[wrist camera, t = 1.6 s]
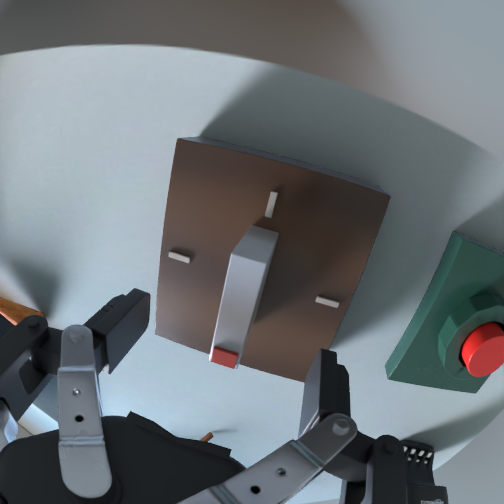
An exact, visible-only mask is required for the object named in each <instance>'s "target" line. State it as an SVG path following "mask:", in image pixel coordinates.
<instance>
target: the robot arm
mask: <svg viewBox="0 0 504 504" xmlns="http://www.w3.org/2000/svg"><path fill="white" fill-rule="evenodd" d="M149 314H150V294H149V293H147V292H144V291H142V290H139V289H136V288H134V289H133V290H132V291H131V292H129V293H128V294H127V295H126V296H125V295H123V294H122V295H119V296H117V297H114V298H112V299H111V300H110V301H109V302H108V303H107V304H106V305H105V306H103V307H102V308H101V310H99V311H98V312H97V313H96V314H95V315H93V316H92V317H91V318H90V319H89V320H88V321H87V322H86V323H85V324H84V325H71V326H69V327H67V328H65V329H64V330H59V329H54V328H50V327H48V322H47V320H46V319H45V318H44V317H43V316H41V315H29V316H27V317H25V318H24V319H22V320H21V321H20V322H19V323H18V324H17V325H16V326H14V327H13V328H12V329H11V330H10V331H9V332H8V333H7V334H5V335H4V336H3V337H2V338H1V339H0V504H285V503H286V502H287V501H289V500H290V499H291V498H292V497H293V496H295V495H296V494H297V493H298V492H300V491H301V490H302V489H303V488H304V487H306V486H307V485H308V484H309V483H310V482H312V481H313V480H314V479H315V478H316V477H318V476H319V475H320V474H321V473H322V472H323V471H326V472H328V473H330V474H332V475H334V476H337V477H339V478H341V479H342V487H341V495H340V503H339V504H406V468H405V451H404V447H403V445H402V443H401V442H400V441H399V440H398V439H397V438H395V437H393V436H390V435H382V436H380V437H378V438H377V439H373V438H371V437H369V436H367V435H364V434H362V433H361V432H359V431H358V430H357V425H356V423H355V422H354V420H353V419H352V418H351V414H350V392H349V390H350V388H349V374H348V372H347V370H346V368H345V366H344V365H340V364H337V353H336V352H334V351H330V350H326V349H322V348H320V349H319V351H318V353H317V355H316V357H315V359H314V361H313V363H312V365H311V367H310V369H309V372H308V374H307V377H306V380H305V386H304V395H303V404H302V412H301V420H300V428H299V435H298V439H297V440H296V441H295V440H294V439H293V440H290V441H289V442H287V443H286V444H284V445H283V446H281V447H280V448H278V449H277V450H275V451H274V452H272V453H271V454H269V455H268V456H266V457H265V458H263V459H262V460H260V461H259V462H257V463H255V464H254V465H252V466H251V467H249V468H247V469H246V468H245V467H244V466H243V465H242V464H241V463H240V462H238V461H237V460H235V459H234V458H232V457H230V453H231V449H228V448H225V447H222V446H218V445H215V444H212V443H209V442H206V441H199V440H192V439H185V438H179V437H176V436H174V435H173V434H171V433H170V432H168V431H167V430H165V429H164V428H162V427H161V426H159V425H158V424H157V423H155V422H154V421H151V420H149V419H147V418H144V417H142V416H140V415H138V414H136V413H133V412H131V411H130V413H129V414H128V416H127V417H123V416H104V412H103V406H102V400H101V392H100V385H99V377H98V375H99V373H100V372H101V371H104V372H106V373H108V374H111V373H112V371H113V370H114V369H115V368H116V366H117V365H118V364H119V363H120V361H121V360H122V359H123V358H124V356H125V355H126V354H127V353H128V352H129V350H130V349H131V348H132V347H133V345H134V344H135V343H136V342H137V341H138V339H139V338H140V337H141V336H142V334H143V333H144V332H145V331H146V329H147V326H148V323H149ZM28 358H29V360H28V361H27V362H26V363H25V361H26V360H27V359H28ZM24 363H25V364H24ZM23 364H24V365H23ZM22 365H23V366H22ZM21 366H22V367H21ZM20 367H21V368H20ZM54 375H57V402H58V424H59V429H57V430H53V431H50V432H46V433H42V434H38V435H33V436H29V437H25V438H20V439H17V440H16V435H17V431H18V427H17V422H18V420H19V419H20V418H21V416H22V415H23V414H24V413H25V411H26V410H27V409H28V408H29V406H30V405H31V404H32V402H33V401H34V400H35V399H36V397H37V396H38V395H39V394H40V393H41V391H42V390H43V389H44V388H45V386H46V385H47V384H48V383H49V382H50V380H51V379H52V378H53V377H54Z"/></svg>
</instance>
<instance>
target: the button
mask: <svg viewBox="0 0 504 504" xmlns="http://www.w3.org/2000/svg"><path fill="white" fill-rule="evenodd" d="M461 356H462V358H463V360H464V362H465V364H466V367H467V369H468V371H469V373H470V374H471V375H473V376H475V377H482V376H486V375H489V374H491V373H492V372H494V371H495V370H497V369H498V368H499V367H500V366H501V365H502V364H503V363H504V332H503V330H502V329H501V327H500V326H499V325H498V324H497V323H494V322H487V323H484V324H481V325H479V326H478V327H477V328H476V329H474V330H473V331H472V332H471V333H469V334H468V335H467V337H466V339H465V340H464V342H463V344H462V347H461Z"/></svg>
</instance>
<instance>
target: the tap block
mask: <svg viewBox="0 0 504 504" xmlns="http://www.w3.org/2000/svg"><path fill="white" fill-rule="evenodd" d="M390 197H391V196H390V195H389V194H388V193H387V192H386V191H385V190H383V189H382V188H381V187H380V186H378V185H375V184H372V183H369V182H366V181H363V180H360V179H357V178H354V177H351V176H348V175H345V174H342V173H338V172H335V171H332V170H329V169H325V168H322V167H319V166H315V165H312V164H308V163H305V162H301V161H298V160H294V159H290V158H287V157H283V156H279V155H275V154H271V153H267V152H263V151H259V150H255V149H251V148H247V147H242V146H238V145H234V144H229V143H225V142H220V141H215V140H210V139H205V138H200V137H188V138H178V139H177V142H176V148H175V154H174V159H173V165H172V172H171V178H170V184H169V191H168V198H167V205H166V213H165V220H164V228H163V237H162V246H161V255H160V266H159V277H158V289H157V302H156V318H155V334H156V335H158V336H161V337H163V338H166V339H169V340H171V341H174V342H177V343H179V344H182V345H185V346H187V347H190V348H193V349H196V350H198V351H201V352H204V353H207V354H210V352H211V347H212V343H213V338H214V333H215V328H216V323H217V318H218V313H219V309H220V304H221V299H222V294H223V289H224V285H225V280H226V275H227V271H228V266H229V261H230V257H231V253H232V252H233V250H234V249H235V247H236V246H237V245H238V243H239V242H240V240H241V239H242V238H243V236H244V235H245V233H246V232H247V231H248V229H249V228H250V226H251V225H253V226H257V227H260V228H264V229H267V230H271V231H274V232H278V233H279V236H278V239H277V243H276V246H275V250H274V254H273V257H272V261H271V264H270V268H269V271H268V275H267V278H266V282H265V285H264V289H263V292H262V296H261V299H260V303H259V306H258V310H257V313H256V317H255V320H254V324H253V327H252V330H251V332H250V335H249V338H248V341H247V344H246V346H245V349H244V352H243V355H242V357H241V360H240V363H239V364H241V365H244V366H247V367H250V368H254V369H257V370H260V371H264V372H267V373H271V374H274V375H278V376H282V377H285V378H289V379H293V380H297V381H300V382H304V383H305V380H306V377H307V374H308V372H309V369H310V367H311V365H312V363H313V361H314V359H315V357H316V355H317V353H318V351H319V349H320V348H322V349H326V350H328V349H329V347H330V345H331V343H332V341H333V339H334V337H335V334H336V332H337V330H338V328H339V326H340V324H341V322H342V319H343V317H344V315H345V313H346V311H347V308H348V306H349V304H350V301H351V299H352V297H353V295H354V292H355V290H356V288H357V285H358V283H359V280H360V278H361V276H362V273H363V271H364V268H365V266H366V263H367V261H368V258H369V256H370V253H371V250H372V248H373V245H374V242H375V240H376V237H377V234H378V232H379V229H380V226H381V223H382V221H383V218H384V215H385V212H386V209H387V206H388V203H389V200H390Z"/></svg>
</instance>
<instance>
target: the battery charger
mask: <svg viewBox="0 0 504 504" xmlns="http://www.w3.org/2000/svg"><path fill="white" fill-rule="evenodd" d="M400 442H401V443H402V445H403V447H404V451H405V468H406V504H448V494H447V489H446V487H443V486H435V483H434V478H433V472H432V465H433V459H434V448H433V447H431V446H428V445H424V444H420V443H415V442H411V441H400Z"/></svg>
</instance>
